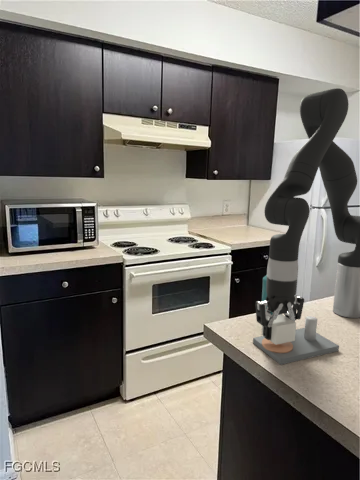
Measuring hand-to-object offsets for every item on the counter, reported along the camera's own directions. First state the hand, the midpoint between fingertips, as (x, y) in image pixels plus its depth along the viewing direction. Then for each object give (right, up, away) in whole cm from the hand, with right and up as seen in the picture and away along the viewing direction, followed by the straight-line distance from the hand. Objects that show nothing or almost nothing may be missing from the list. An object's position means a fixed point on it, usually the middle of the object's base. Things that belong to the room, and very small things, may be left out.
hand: (277, 336), depth 91 cm
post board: (+6, -4, +3) cm, 7 cm away
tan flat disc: (0, -3, 0) cm, 3 cm away
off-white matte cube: (0, 0, 0) cm, 0 cm away
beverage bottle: (+2, -2, +15) cm, 15 cm away
